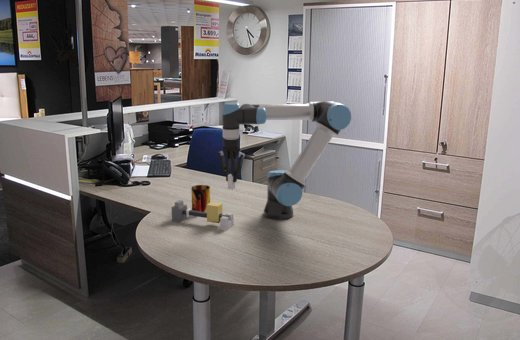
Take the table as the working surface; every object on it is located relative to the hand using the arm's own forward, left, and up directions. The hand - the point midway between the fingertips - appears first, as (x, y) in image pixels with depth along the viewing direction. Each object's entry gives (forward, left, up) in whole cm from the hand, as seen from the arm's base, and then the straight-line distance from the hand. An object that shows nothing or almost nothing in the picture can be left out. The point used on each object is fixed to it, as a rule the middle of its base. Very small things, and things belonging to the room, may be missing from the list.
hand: (231, 188), depth 207 cm
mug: (+25, -17, -20) cm, 36 cm away
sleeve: (+9, 0, -17) cm, 19 cm away
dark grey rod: (+16, 0, -17) cm, 23 cm away
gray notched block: (+3, 0, -19) cm, 20 cm away
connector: (+29, 0, -19) cm, 34 cm away
